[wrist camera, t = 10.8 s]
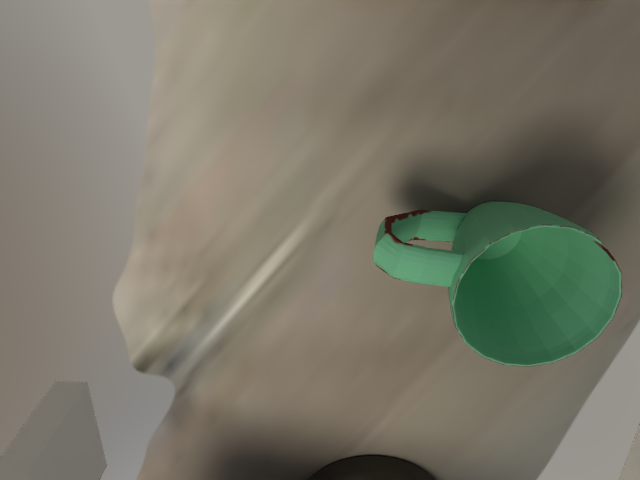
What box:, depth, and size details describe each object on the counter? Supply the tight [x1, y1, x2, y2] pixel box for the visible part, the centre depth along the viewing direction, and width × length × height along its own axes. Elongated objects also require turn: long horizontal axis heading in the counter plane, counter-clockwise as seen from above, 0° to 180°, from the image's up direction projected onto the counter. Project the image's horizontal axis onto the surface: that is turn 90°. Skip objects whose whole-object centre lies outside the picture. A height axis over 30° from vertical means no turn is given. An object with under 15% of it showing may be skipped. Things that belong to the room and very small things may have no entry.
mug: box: [373, 201, 622, 367], centre depth 34 cm, size 15×10×10 cm
